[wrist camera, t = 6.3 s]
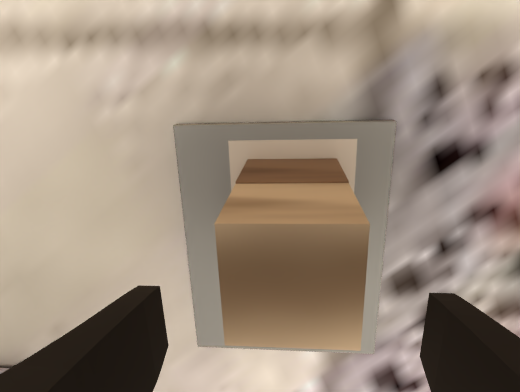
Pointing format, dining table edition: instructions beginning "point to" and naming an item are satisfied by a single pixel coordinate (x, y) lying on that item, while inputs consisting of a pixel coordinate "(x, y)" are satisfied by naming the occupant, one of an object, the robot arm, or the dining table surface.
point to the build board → (277, 147)
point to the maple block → (292, 266)
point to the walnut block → (292, 171)
